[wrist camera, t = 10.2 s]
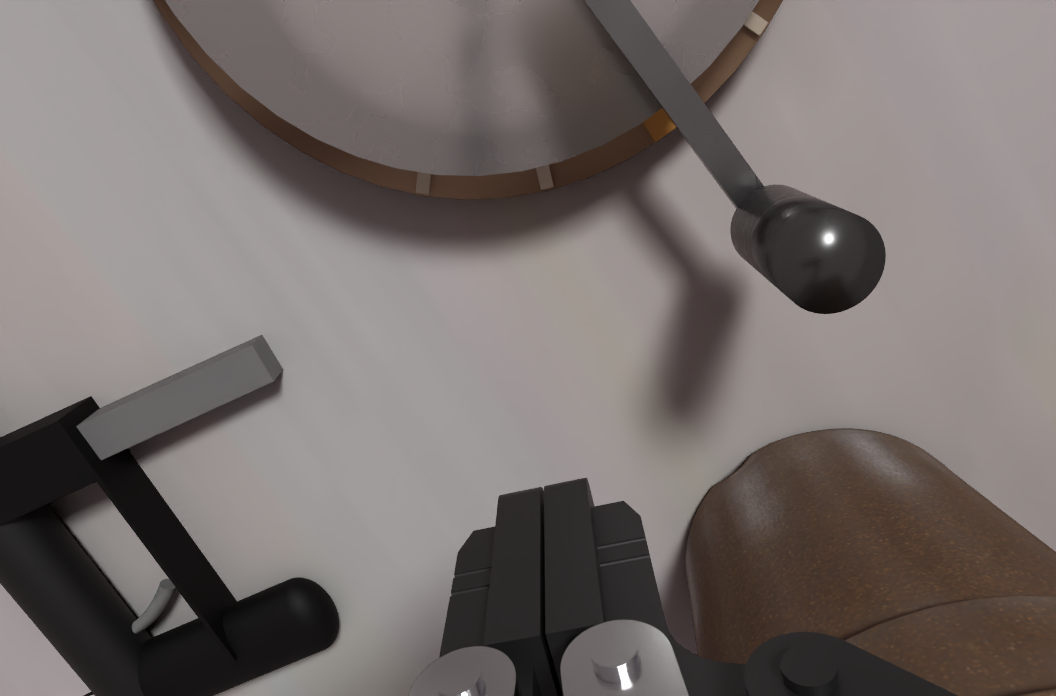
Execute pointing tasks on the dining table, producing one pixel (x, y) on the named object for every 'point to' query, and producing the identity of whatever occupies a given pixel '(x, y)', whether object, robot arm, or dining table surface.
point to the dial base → (496, 183)
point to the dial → (528, 102)
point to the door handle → (86, 596)
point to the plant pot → (873, 564)
